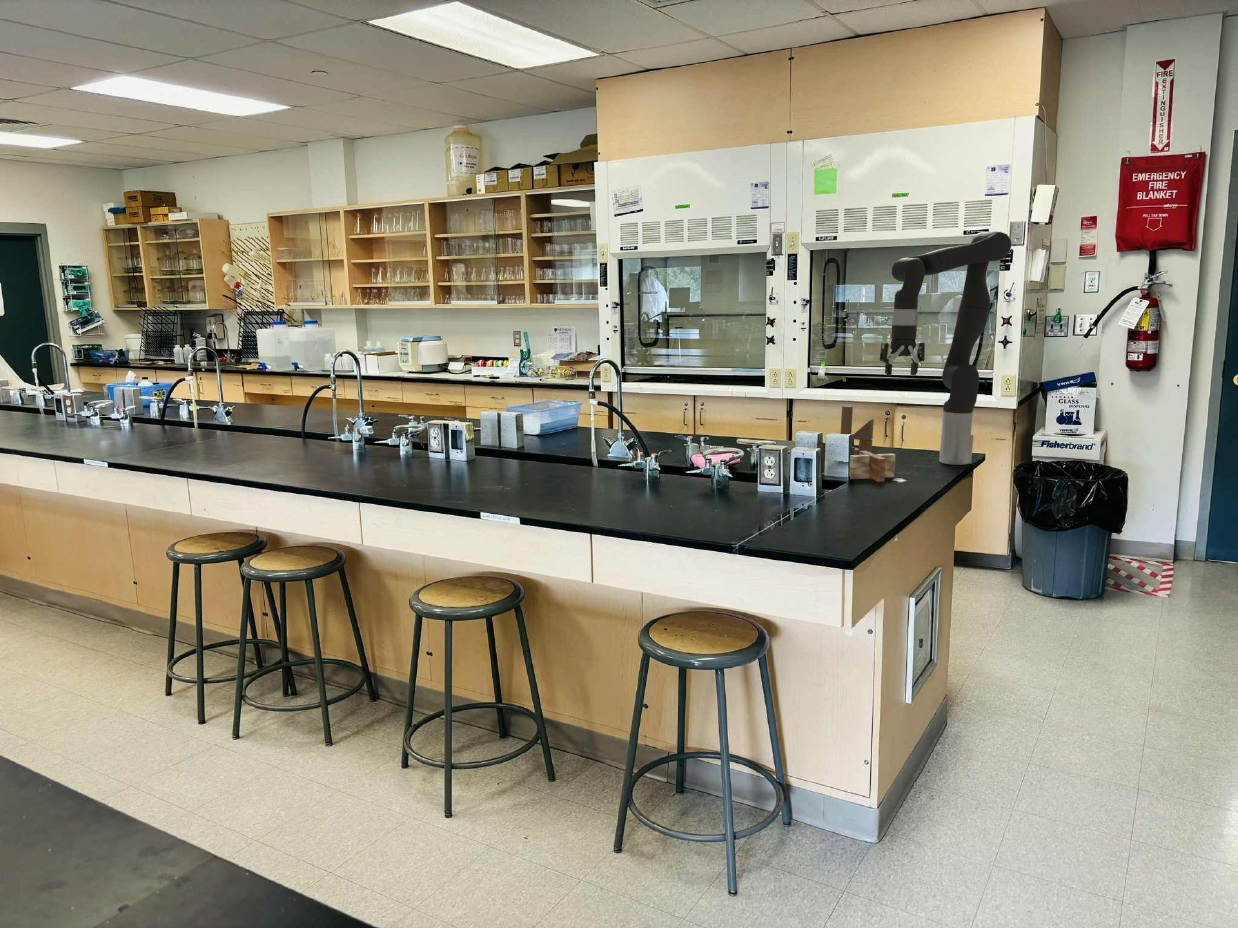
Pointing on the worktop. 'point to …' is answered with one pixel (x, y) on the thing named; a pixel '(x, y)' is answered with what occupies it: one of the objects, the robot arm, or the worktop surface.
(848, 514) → the worktop surface
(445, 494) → the worktop surface
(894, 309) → the robot arm
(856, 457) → the maple plate
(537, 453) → the worktop surface
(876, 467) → the cherry plate
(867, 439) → the wooden block
